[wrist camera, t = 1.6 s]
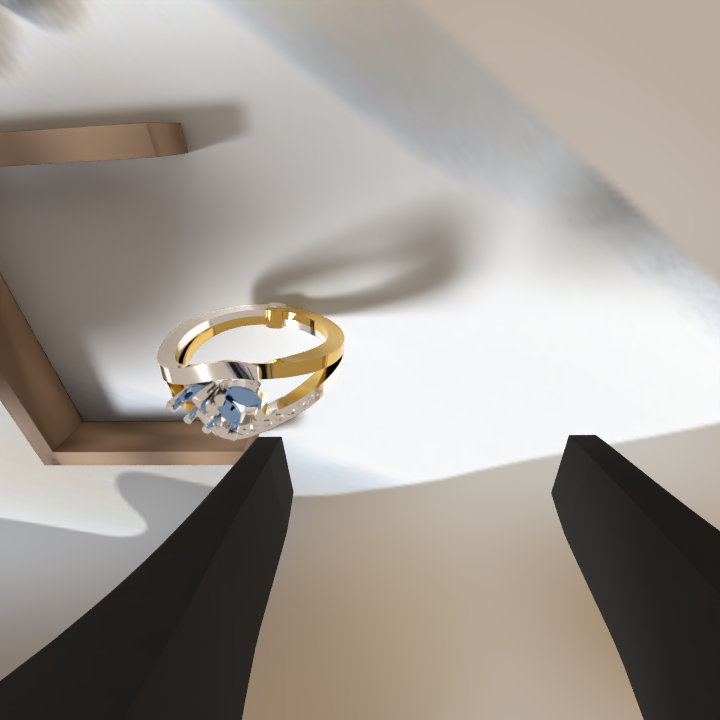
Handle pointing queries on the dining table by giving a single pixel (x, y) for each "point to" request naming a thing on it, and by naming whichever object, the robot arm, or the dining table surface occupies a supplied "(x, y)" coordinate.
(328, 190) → the dining table surface
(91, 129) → the brown u-shaped frame
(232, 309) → the ring
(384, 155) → the dining table surface
